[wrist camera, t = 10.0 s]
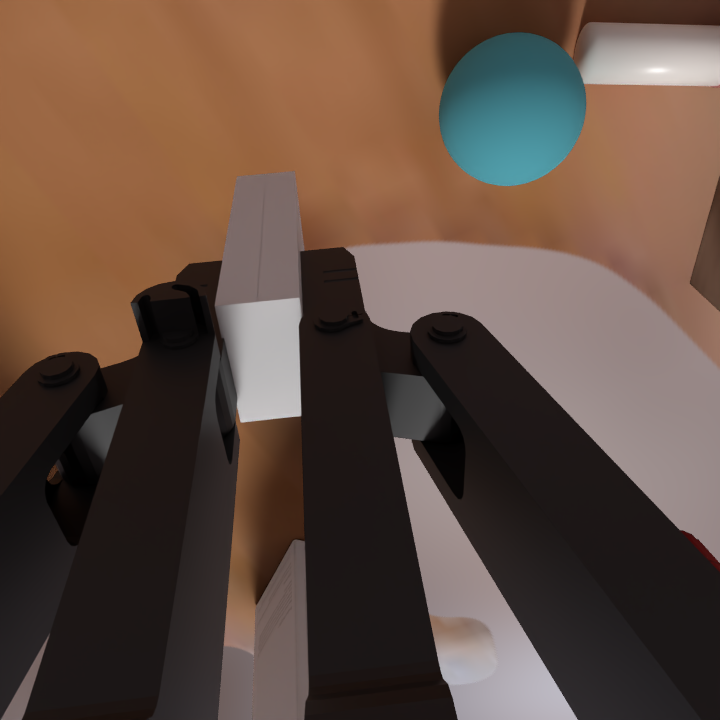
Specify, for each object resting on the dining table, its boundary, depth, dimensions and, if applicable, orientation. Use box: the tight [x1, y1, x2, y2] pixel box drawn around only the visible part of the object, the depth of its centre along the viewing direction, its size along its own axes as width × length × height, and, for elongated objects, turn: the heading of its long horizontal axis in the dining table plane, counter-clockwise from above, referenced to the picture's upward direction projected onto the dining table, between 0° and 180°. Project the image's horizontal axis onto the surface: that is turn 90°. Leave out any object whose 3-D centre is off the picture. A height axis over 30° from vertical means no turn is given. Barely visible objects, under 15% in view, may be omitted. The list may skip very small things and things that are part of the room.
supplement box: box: [252, 540, 309, 720], centre depth 43 cm, size 9×9×15 cm
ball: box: [439, 32, 586, 186], centre depth 27 cm, size 6×6×6 cm
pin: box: [573, 22, 720, 88], centre depth 28 cm, size 2×2×8 cm
